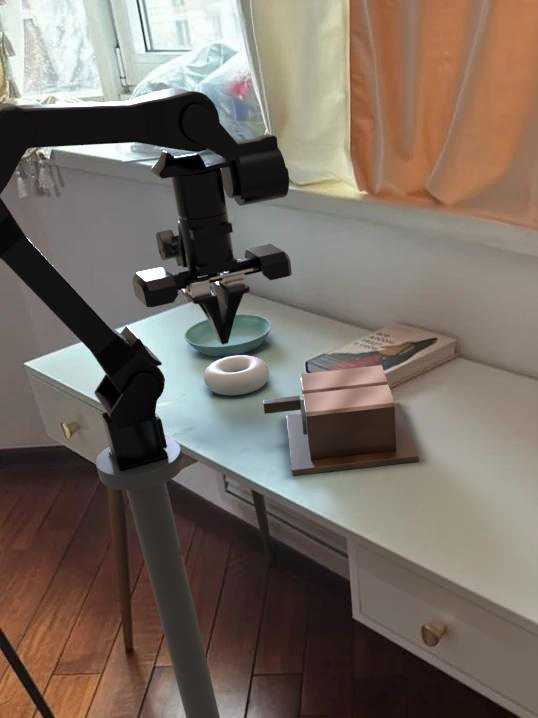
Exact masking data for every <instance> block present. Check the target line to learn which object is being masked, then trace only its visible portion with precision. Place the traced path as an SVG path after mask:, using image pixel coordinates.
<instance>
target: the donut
mask: <svg viewBox="0 0 538 718" xmlns="http://www.w3.org/2000/svg"><path fill="white" fill-rule="evenodd" d="M269 378H270V368H269V366H268V364H266V362H265V361H264V360H263V359H261V358H259V357H257V356H252V355H246V354H245V355H244V354H238V355H233V356H224V357H223V358H219V359H217V360H216V361H213V362H211V364H209V365H208V367H206V369H205V371H204V374H203V381H204V384H205V386H206V387H207V388H208V389H209V390H210V391H211V392H212V393H214V394H217V395H221V396H242V395H247V394H250V393H252V392H255V391H258V390H260V389H261V388H262V387H263V386H265V384H266V383H267V382H268V381H269Z"/></svg>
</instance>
